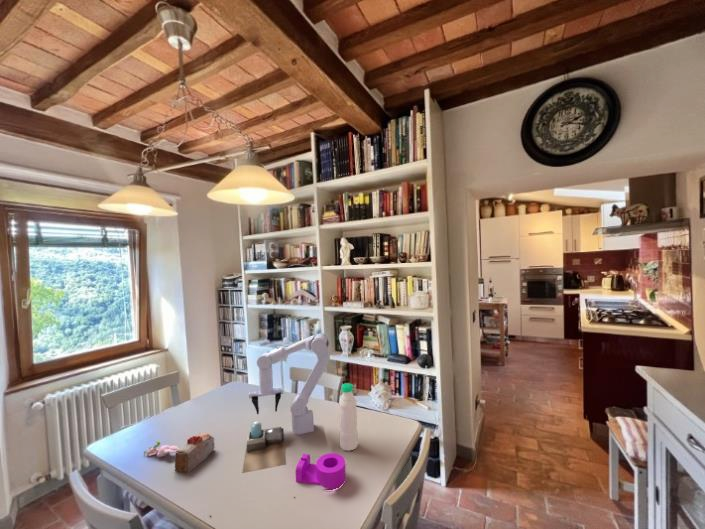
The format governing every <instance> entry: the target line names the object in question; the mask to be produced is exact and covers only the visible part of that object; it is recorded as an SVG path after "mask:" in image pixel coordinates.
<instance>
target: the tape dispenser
mask: <svg viewBox="0 0 705 529" xmlns="http://www.w3.org/2000/svg"><path fill="white" fill-rule="evenodd" d="M345 479H346V480H347V477H346V459H345V457H344V456H342V455H341V454H339V453H335V452H329V453H325V454H323V455H321V456H319V458H318V459H317V460H316V462H315V463H311V455H310V454H305V453H303V454H302V455H301V457H300V459H299V460H298V462H297V464H296V467H295V483H303V484H310V485H318V486H321V487H323V488H325V489H324V490H333V489H336V488H339V487H340V486H341V485H342V484H343V483H344V481H345ZM345 482H346V481H345Z"/></svg>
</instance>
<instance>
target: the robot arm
mask: <svg viewBox="0 0 705 529" xmlns="http://www.w3.org/2000/svg"><path fill="white" fill-rule="evenodd" d="M305 349H306V350H308V351H312V352H313V353H314V354H315V355H316V357H317V361H316V363H315V365H314V367H313V368H312V370H311V372H310V374H309V375H308V378H307V379H306V382H305V383H304V385H303V387H302V388H301V390H300V391H299V392H298V393H297V394H296V395H295V397H294V399H293V401H292V404H291V406H290V409H289V410H290V413H291V431H292V434H294V435H297V436H298V435H299V436H300V435H301V436H302V435H305V434H307V433H312V432H315V425H314V424H315V422H314V411H313V410H312V409H309V408H308V406H307V405H308V403H309V399H310V397H311V395H312V393H313V391H314V389H315V388H316V386H317V384H318V382H319V380H320V379H321V377H322V375H323V374H324V371H325V369H326V368H327V366H328V364H329V362H330V359H331V352H330V341H329V338H328V337H327V335H326V334H325V333H322V332H320V333H317V334H316V335H315V334H314V335H311V336H308V337H305V338H304V339H301V340H299V341H297V342H295V343H293V344H291V345H289V346H284V345H282V346H280V345H278V346H277V347H276V348H275V349H272V350H268V351H266V352H264V353H262V354H261V355H260V356H259V357H258V358H257V360H256V365H257V367H258V381H259V382H258V383H259V388H258V390H254V391H251V392H250V391H249V392H248V399H250V400H251V403H252V404H253V406H254V408H255V411H256V415H259V413H260V408H259V398H260V397H266V396H274V395H275V396H274V401H275V402H274V403H275V405H274V412H275V413H276V412H277V411H278V408H279V407H278V406H279V404H280V400H281V398H282V395H283V394H284V387H281V388H280V387H274V382H273V381H274V380H273V379H274V378H273V376H274V375H273V365H275V364H277V363H279V362H282V361H284V360H286V359H288V358H289V355H291V354H293V353H296V352H299V351H301V350H305Z"/></svg>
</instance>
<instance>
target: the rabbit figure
mask: <svg viewBox="0 0 705 529" xmlns="http://www.w3.org/2000/svg"><path fill="white" fill-rule="evenodd" d="M155 442H156V444H154V445H153V446H151V447H150V446H149V450H144V451H143V455H147V457H151V456H154V455H156V456H157V457H158V458H160V457H165V456H167V455H169V453H172V454H173V453H175V454H176V451H177V450H179V449H180V448H179V446H177V445H169V444H164V445H161V441H159V440H157V441H155Z"/></svg>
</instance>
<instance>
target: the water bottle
mask: <svg viewBox="0 0 705 529" xmlns="http://www.w3.org/2000/svg"><path fill="white" fill-rule="evenodd" d="M341 392H342V394H341V397H340V398H339V402H338V405H339V413H338V414H339V416H338V417H339V437H340V438H339V440H340V441H339V444H340V445H339V446H340V448H341V449H342V450H343V449H344V450H343V451H345V450H352V449H354V448H356V447H358V446H357V445H359V441H358V427H357V426H358V412H357V399H356V398H355V396H354V394H353V392H354V385H353V384H352V383H349V382H346V383H345V382H344V383H342V385H341ZM356 449H357V448H356Z"/></svg>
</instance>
